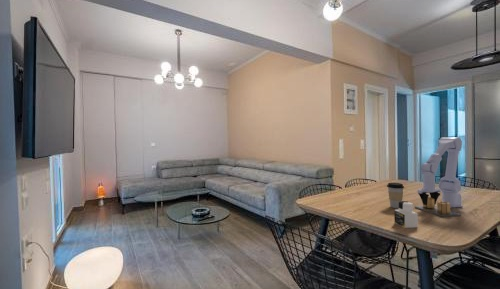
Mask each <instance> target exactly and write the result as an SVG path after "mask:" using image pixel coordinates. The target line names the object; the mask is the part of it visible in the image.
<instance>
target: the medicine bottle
mask: <svg viewBox="0 0 500 289" xmlns="http://www.w3.org/2000/svg"><path fill="white" fill-rule="evenodd" d="M418 215H419V214H418V213H417V212H415V211H414V204H413V202H411V201H408V200H407V201H406V200H402V201H400V202H399V208H398V209H394V218H393V219H394V224H396V225H398V226H400V227H402V228H403V229H411V228H413V229H414V228H418V225H419V224H418Z"/></svg>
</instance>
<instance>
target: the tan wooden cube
mask: <svg viewBox="0 0 500 289" xmlns="http://www.w3.org/2000/svg"><path fill="white" fill-rule="evenodd" d="M435 205H436V204H435V201H434V198H431V196H430V197H429V196H428V200H427V205H424V204H423V203H422V206H423V207H426V208H435Z"/></svg>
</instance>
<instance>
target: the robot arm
mask: <svg viewBox="0 0 500 289" xmlns="http://www.w3.org/2000/svg"><path fill="white" fill-rule="evenodd" d="M462 145H463V140H462V139H461V138H460V137H459V136H456V137H440V139H439V140H438V147H437V148H436V150H435V151H434V152H435V153H432V154H431V155H430V156H429V157H428V159H427V160H426V162H423V163H422V164H421V166H420V170H421V172H422V175H423V176H422V177H423V178H422V179H423V180H422V181H423V183H422V184H423V185H422V186H423V188H420V189H417V194H418V196H419V197H420V200H421V202H422V205H423V204H424V205H427V200H428V197H429V196H430V198H434V201H435V205H437V202H438V199H439V197H440V196H442V198H441V200H442V201H443V202H448V203H450V208H460V207H463V205H462V194H461V193H460V192H461V190H462V184H461V180H460V179H458V178H457V176H456V175H457V171H458V170H457V168H458V162H459V161H458V160H459V156H460V155H459V153H460V151H462ZM445 152H447V153H448V154H447V160H446V166H445V175H444V176H443V177H441V178H440V179H439V180H440V181H439V182H438V188H436V173H437V171H438V167H439V164H440V162H441V161H442V160H443V158H442V156H443V155H444V154H445Z"/></svg>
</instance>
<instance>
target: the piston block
mask: <svg viewBox="0 0 500 289" xmlns="http://www.w3.org/2000/svg"><path fill="white" fill-rule="evenodd" d="M436 205H437V206H435V208H426V207H423V205H413V209H418V210H420V211H423V212H425V213H429V214H432V215H435V216H438V217H441V218H446V217H447V218H448V217H459V216H461V214H462V213H459V212H456V211H452V210H451V207H450V203H448V202H443V201H441V200H439V201H438V200H437V201H436Z"/></svg>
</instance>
